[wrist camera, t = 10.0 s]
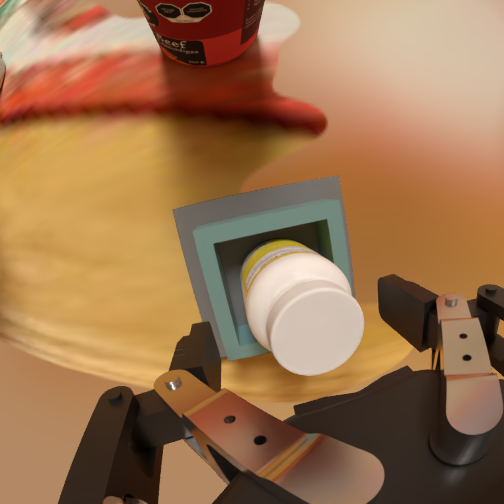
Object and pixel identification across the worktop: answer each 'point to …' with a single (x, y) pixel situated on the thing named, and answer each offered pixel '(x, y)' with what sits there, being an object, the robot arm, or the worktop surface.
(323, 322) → the supplement bottle
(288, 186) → the grey-teal square frame
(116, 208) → the worktop surface
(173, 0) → the canned food
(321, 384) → the worktop surface
